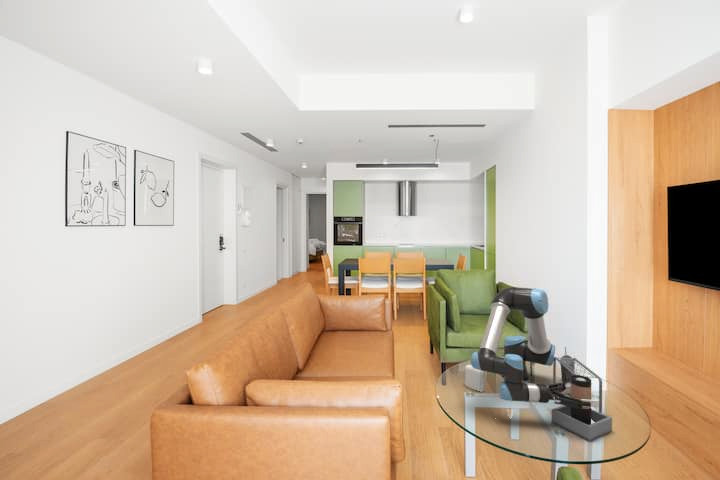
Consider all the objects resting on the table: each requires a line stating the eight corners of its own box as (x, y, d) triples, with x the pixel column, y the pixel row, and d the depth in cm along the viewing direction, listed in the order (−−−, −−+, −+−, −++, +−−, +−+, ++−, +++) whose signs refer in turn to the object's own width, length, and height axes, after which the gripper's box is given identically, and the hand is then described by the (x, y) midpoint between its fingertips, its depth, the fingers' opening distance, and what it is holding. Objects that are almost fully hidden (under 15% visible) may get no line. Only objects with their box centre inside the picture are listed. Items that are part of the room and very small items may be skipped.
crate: (573, 414, 161) (573, 401, 161) (611, 432, 146) (612, 417, 146) (551, 422, 153) (551, 409, 153) (589, 441, 139) (589, 426, 139)
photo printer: (463, 386, 191) (464, 363, 190) (468, 384, 193) (468, 362, 193) (480, 393, 182) (480, 369, 182) (485, 391, 185) (485, 367, 185)
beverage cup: (569, 387, 191) (569, 350, 191) (556, 382, 197) (557, 346, 197) (577, 384, 194) (577, 348, 194) (564, 379, 201) (565, 345, 201)
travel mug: (566, 420, 153) (566, 375, 153) (582, 420, 154) (582, 374, 154) (578, 430, 146) (578, 382, 146) (595, 429, 146) (596, 381, 146)
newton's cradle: (602, 417, 158) (602, 378, 158) (577, 415, 160) (577, 376, 160) (573, 389, 188) (574, 356, 188) (552, 388, 190) (553, 355, 190)
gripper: (527, 389, 165) (575, 392, 162) (548, 416, 140) (605, 420, 137) (527, 373, 165) (575, 376, 162) (548, 397, 140) (606, 401, 137)
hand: (589, 396), depth 149 cm, fingers open, 13 cm apart
